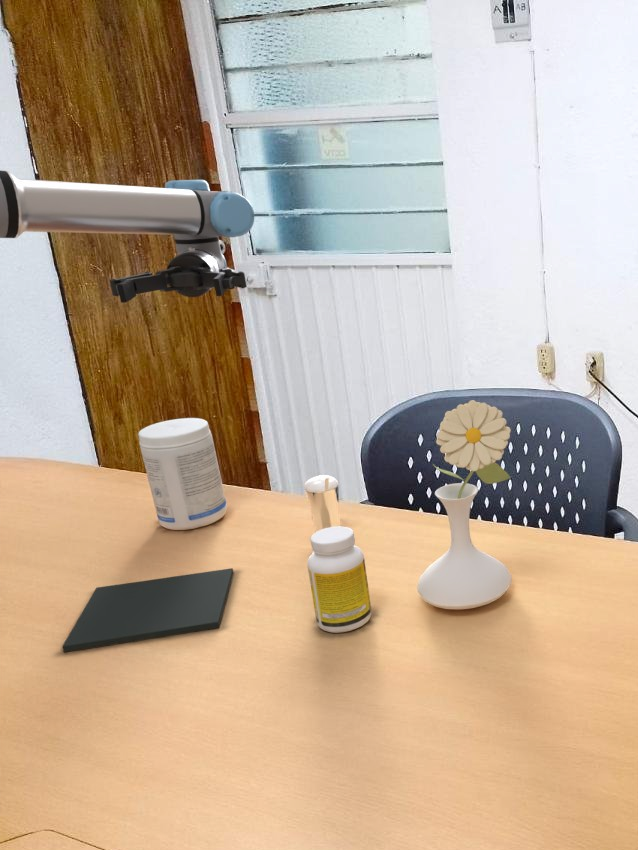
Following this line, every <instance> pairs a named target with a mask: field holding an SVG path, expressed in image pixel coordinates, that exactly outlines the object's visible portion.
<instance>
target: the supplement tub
mask: <svg viewBox="0 0 638 850" xmlns="http://www.w3.org/2000/svg"><path fill="white" fill-rule="evenodd" d="M137 436H138V440H139V442H138V443H139V448H140V452H141V456H142V460H143V464H144V468H145V472H146V476H147V481H148V484H149V488H150V492H151V496H152V500H153V505H154V509H155V513H156V517H157V520H158V523H159V525H160V526H161V527H162V528H165V529H167V530H172V531H187V530H193V529H198V528H201V527H206V526H209V525H211V524H214V523H216V522H218V521H219V520H220V519H221V518H223V517H224V516H225V515H226V513H227V512H228V505H227V500H226V495H225V490H224V484H223V479H222V475H221V472H220V466H219V462H218V457H217V452H216V448H215V444H214V438H213V434H212V431H211V429H210V426H209V422H208V421H207V420H206V419H203V418H199V417H183V418H175V419H169V420H164V421H160V422H156V423H153V424H149V425H148V426H146V427H143V428H142V429H140V430H139V432H138V433H137Z"/></svg>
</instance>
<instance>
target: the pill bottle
mask: <svg viewBox="0 0 638 850" xmlns="http://www.w3.org/2000/svg"><path fill="white" fill-rule="evenodd" d="M310 545H311V549H312V553H310V555H309V557H308V559H307V570H308V572H307V573H308V577H309V578H308V579H309V584H310V590H311V597H312V602H313V609H314V614H315V619H316V623H317V626H318V628H320V629H321V630H322V631H324V632H327V633H333V634H335V633H336V634H337V633H346V632H350V631H354V630H356V629H358V628H360V627H363V626H365V624H366V623H368V621H370V619H371V617H372V606H371V605H372V604H371V599H370V598H371V597H370V590H369V583H368V576H367V575H368V574H367V568H366V562H365V561H366V559H365V556H364V552H363V551H362V549H361V548H360V547H359V546H357V545H356V537H355V532H354V530H353V529H352V528H350V527H348V526H347V527H346V526H341V525H340V526H336V527H329V528H325V529H321V530H319V531H317V532H315V531H314V532H313V534H312V535H311V536H310Z"/></svg>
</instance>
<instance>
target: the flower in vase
mask: <svg viewBox="0 0 638 850" xmlns="http://www.w3.org/2000/svg"><path fill="white" fill-rule="evenodd" d="M503 415H504V414H503V411H502V410H501V409H498V408H497V406H491V405H490V404H487V403H486V402H480V401H476V400H475V399H472V400H469V401H468V402H466V403H464V404H462V403H459V404H458V405H457V406H456V408H453V409H451V410H447V411H446V412H445V414H444V417H443V419H442V421H441V422H440V423H439V428H438V432H437V433H436V440H435V442H436V444H437V445H438V446H439V451H440V453H442V454H444V461H445V462H446V463H449V464H450V465H451V466H454V465H455V466H456V467H457V468H462V469H464V468H465V469H466V470H468V471H470V472H469V474H468V475H467V476H466V478H465V479H463V478H462V477H461V476H460V475H458V474H456V473H455V472H452V471H449V470H446V469H443V468H440V467H437V466H436V465H435V464H433V467H434V468H435V469H436V470H437V471H439V472H440V473H443V474H445V475H447V476H451V477H453V478H456V479H459V480H461V481H463V482H457V483H456V482H455V483H449V484H445V485H443V486H441V487H438V488H437V489H436V490H435V492H434V496H435V497H436V498H437V499H439V501H440V502H441V503H442V505H443V507H444V508H445V509H444V510H445V512H446V514H447V518H448V522H449V528H450V529H449V530H450V546H449V548H448V550H447V551H446V552H445V553H444V554H443V555H441V556H440V557H439V558H437V559H436V560H435V561H434V562H433V563H431V564H430V565H429V566H428V567H427V568H426V569H425V570H424V571H423V573H422V574H421V575H420V577H419V579H418V583H417V587H416V589H417V593H418V595H419V596H420V598H422V599H423V601H425V602H426V603H427V604H429V605H431V606H434V607H436V608H440V609H444V610H469V609H474V608H479V607H483V606H486V605H488V604H491V603H493V602H495V601H497V600H498V599H500V598H501V597H502V596H503V595H505V593H506V592H507V591H508V589H509V588H510V586H511V584H512V574H511V573H510V571H509V569H508V568H507V566H506V564H504V563H503V562H501V561H500V560H499V559H498V558H496V557H494V556H492V555H490V554H488V553H486V552H484V551H483V550H480V549H478V548H477V547H475V545H474V544H473V541H472V538H471V530H470V513H471V506H472V503H473V500H474V499H475V497H476V496H477V494H478V492H479V487H477V485H475V484H472V483H468V482H469V480H470V479H471V477H472V476H473V474H474V472H475V473H476V475H477V476H478V478H479V479H480V480H481V481H482V482H483V483H484V484H488V485H492V484H498V483H500V482H504V481H506V480H509V479H511V476H510V474H509V473H508V472H507V471H506V470H505V469H504V468H502V467H501V466H500V464H498V463H496V461H500V460H501V459H502V458H503V455H504V453H505V450H504V449H506V447H507V446H508V445H509V441H508V440H509V439H510V437H511V431H512V429H511V427H510V426H507V419H506V418H504V417H503Z"/></svg>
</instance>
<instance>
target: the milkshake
mask: <svg viewBox="0 0 638 850" xmlns="http://www.w3.org/2000/svg"><path fill="white" fill-rule="evenodd" d="M303 488H304V492H305V496H306V500H307V503H308V507H309V512H310V515H311V520H312V523H313V528H314V533H315V532H317V531H319V530H321V529H325V528H329V527H336V526H341V512H340V493H339V492H340V491H339V488H340V487H339V481H338V480H337V478H336V477H334V476H331V475H326V474H320V475H316V476H313V477H311V478H309V479H308V480H306V482H305V483H304V485H303Z"/></svg>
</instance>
